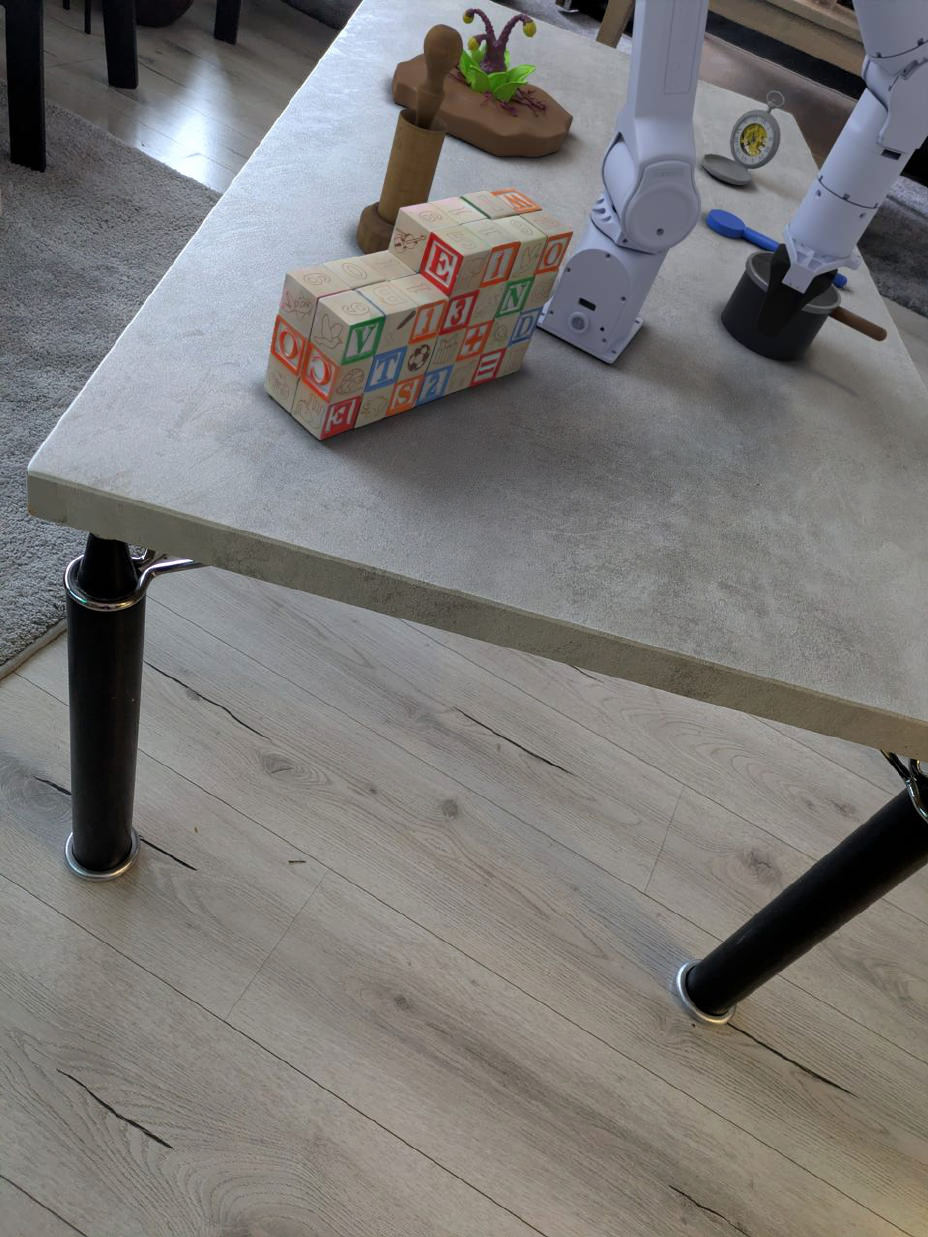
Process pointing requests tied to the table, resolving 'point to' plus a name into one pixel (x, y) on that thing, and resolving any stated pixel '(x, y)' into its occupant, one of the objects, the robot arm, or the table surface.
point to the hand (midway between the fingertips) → (765, 331)
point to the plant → (491, 96)
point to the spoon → (748, 234)
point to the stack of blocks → (415, 311)
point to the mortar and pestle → (413, 144)
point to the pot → (802, 327)
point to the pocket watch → (756, 130)
